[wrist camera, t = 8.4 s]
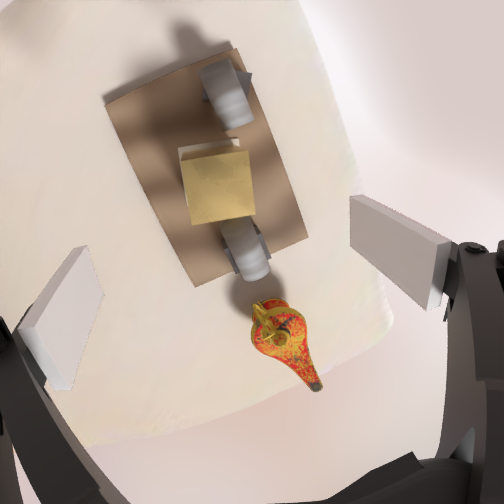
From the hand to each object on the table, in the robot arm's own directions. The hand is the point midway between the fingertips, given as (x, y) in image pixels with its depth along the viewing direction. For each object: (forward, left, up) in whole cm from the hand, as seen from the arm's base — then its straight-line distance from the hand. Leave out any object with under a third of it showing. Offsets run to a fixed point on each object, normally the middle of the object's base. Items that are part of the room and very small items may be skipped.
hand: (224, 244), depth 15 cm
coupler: (0, +1, -17) cm, 17 cm away
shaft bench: (0, +1, -19) cm, 19 cm away
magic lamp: (+17, -12, -19) cm, 28 cm away
